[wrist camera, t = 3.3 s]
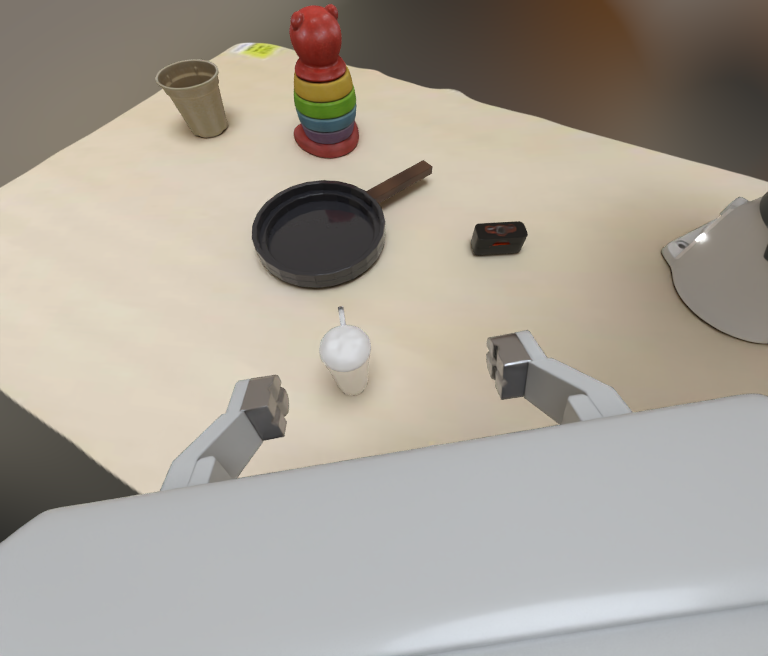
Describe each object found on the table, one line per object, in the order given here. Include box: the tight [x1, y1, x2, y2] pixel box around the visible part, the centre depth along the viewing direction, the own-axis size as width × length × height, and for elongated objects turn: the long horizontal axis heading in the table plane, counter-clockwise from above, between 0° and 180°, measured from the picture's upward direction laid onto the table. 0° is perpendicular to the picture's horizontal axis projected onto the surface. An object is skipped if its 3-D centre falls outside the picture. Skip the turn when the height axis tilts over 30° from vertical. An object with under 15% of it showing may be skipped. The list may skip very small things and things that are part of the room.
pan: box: [252, 180, 385, 288], centre depth 47 cm, size 17×17×3 cm
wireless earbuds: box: [471, 222, 528, 255], centre depth 47 cm, size 5×7×3 cm, turn 94°
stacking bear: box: [290, 4, 359, 158], centre depth 53 cm, size 11×10×18 cm
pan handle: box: [363, 160, 432, 206], centre depth 51 cm, size 12×2×1 cm, turn 129°
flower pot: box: [156, 59, 228, 138], centre depth 59 cm, size 9×9×9 cm
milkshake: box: [319, 306, 371, 396], centre depth 34 cm, size 4×5×10 cm
